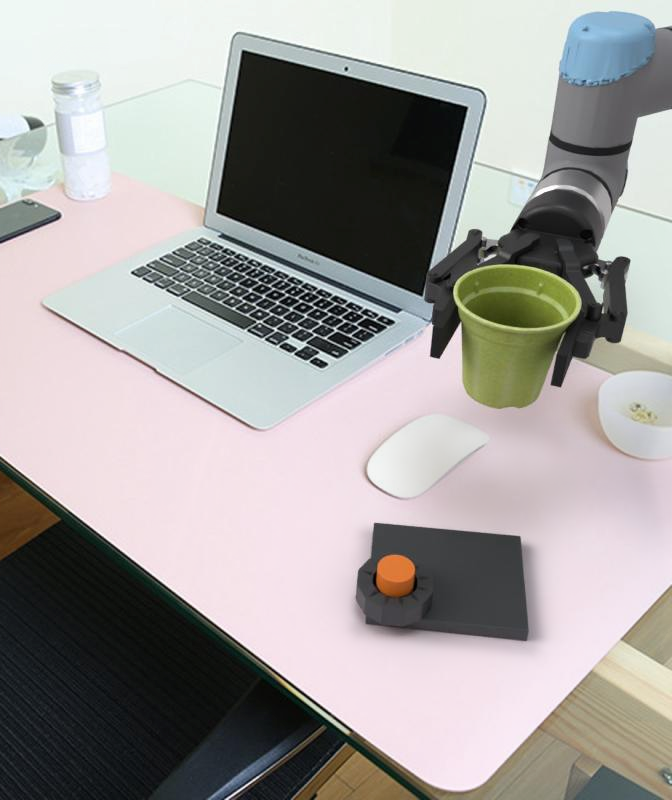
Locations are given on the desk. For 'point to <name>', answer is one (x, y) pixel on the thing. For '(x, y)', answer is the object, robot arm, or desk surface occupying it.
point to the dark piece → (449, 582)
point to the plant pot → (511, 330)
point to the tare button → (395, 576)
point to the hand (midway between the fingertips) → (496, 356)
